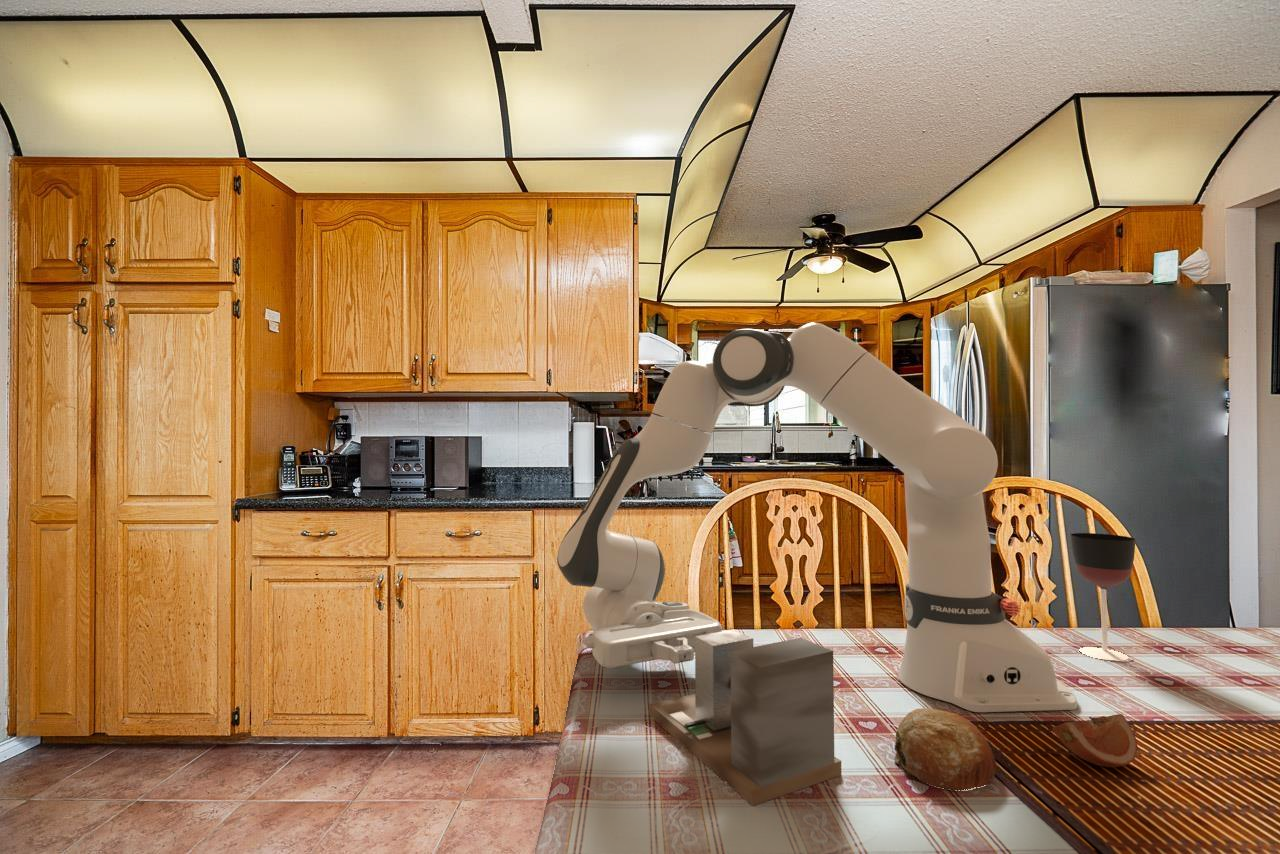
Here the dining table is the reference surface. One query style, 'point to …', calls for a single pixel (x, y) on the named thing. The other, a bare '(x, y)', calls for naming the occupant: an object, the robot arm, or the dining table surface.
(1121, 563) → the wineglass
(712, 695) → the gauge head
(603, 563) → the robot arm
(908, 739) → the bread roll
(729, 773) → the base
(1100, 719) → the fruit slice
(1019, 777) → the dining table surface
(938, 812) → the dining table surface
